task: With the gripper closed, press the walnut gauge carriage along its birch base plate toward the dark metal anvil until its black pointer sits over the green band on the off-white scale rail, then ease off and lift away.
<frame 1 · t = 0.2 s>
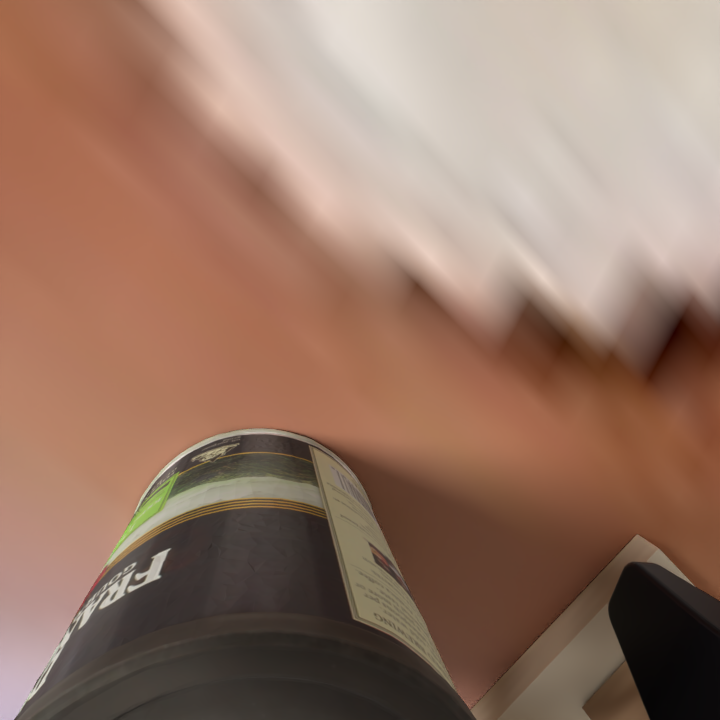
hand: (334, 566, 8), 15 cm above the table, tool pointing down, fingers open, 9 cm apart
coffee can: (257, 544, 24), on the table
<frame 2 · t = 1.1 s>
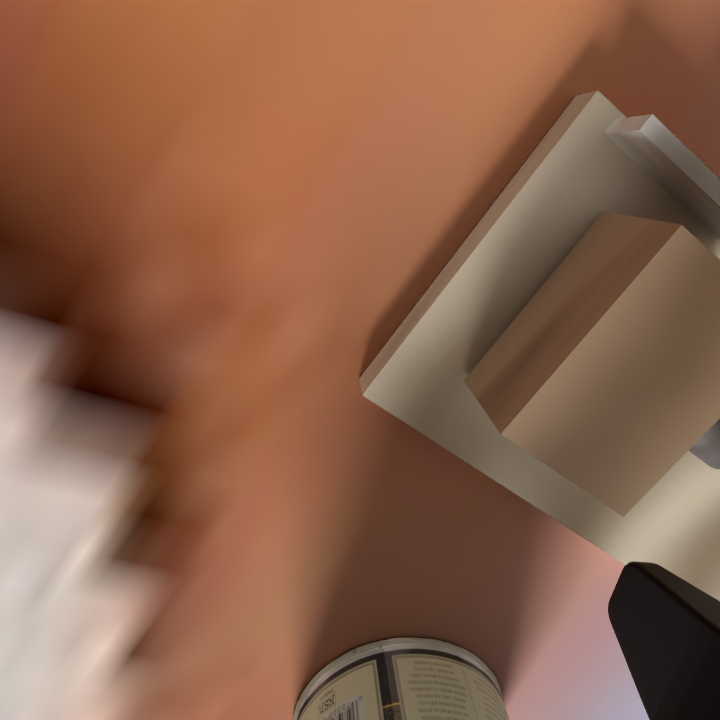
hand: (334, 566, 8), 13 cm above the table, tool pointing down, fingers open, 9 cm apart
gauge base: (667, 408, 22), on the table
gauge carriage: (681, 346, 17), point 4 cm above the table, slide at 0.0 cm
coffee can: (399, 712, 27), on the table
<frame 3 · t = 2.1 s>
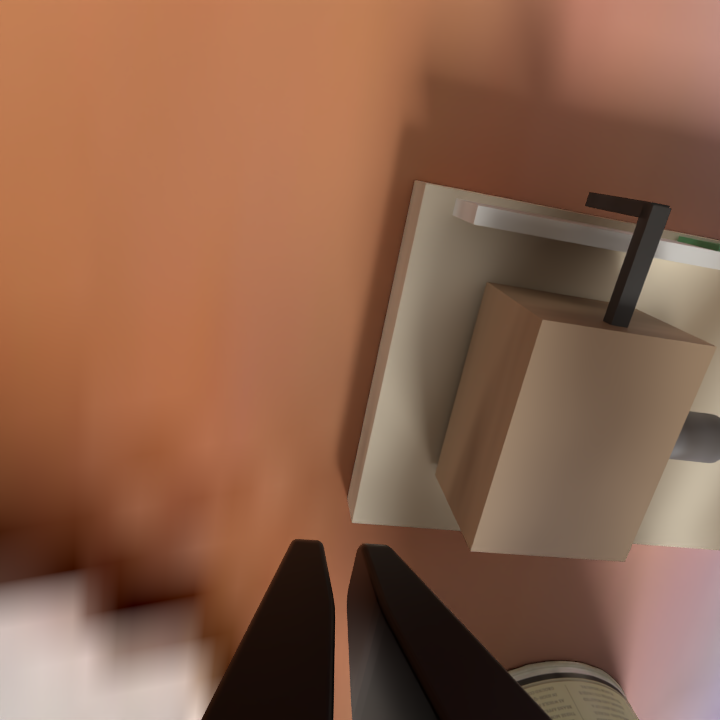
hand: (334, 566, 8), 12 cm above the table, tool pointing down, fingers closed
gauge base: (650, 391, 22), on the table
gauge carriage: (615, 379, 17), point 4 cm above the table, slide at 0.0 cm
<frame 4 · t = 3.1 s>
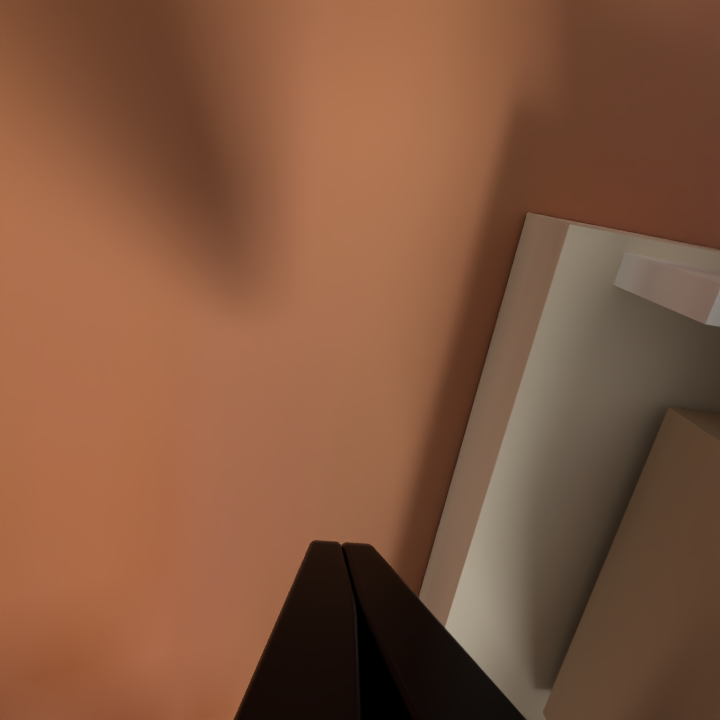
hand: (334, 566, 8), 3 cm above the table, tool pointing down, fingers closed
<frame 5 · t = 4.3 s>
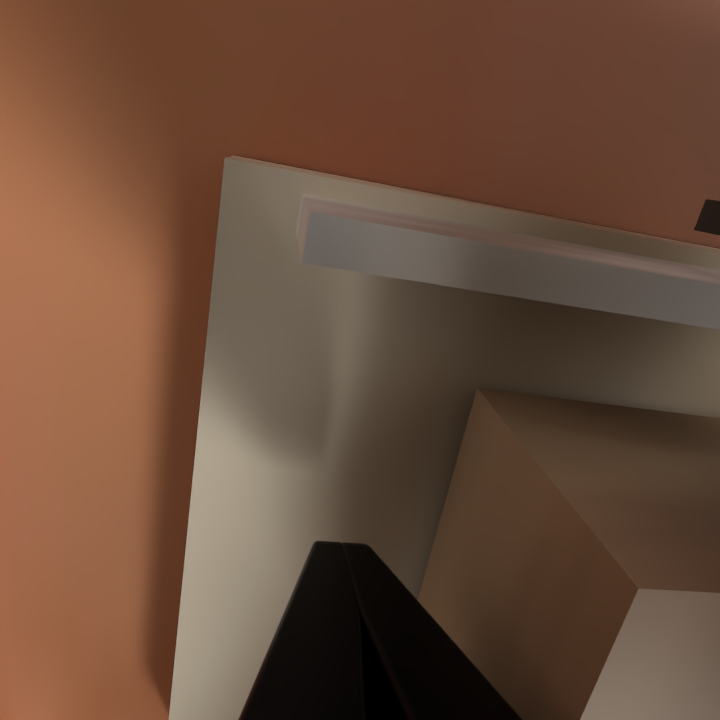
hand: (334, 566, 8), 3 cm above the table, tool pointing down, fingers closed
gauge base: (707, 535, 12), on the table
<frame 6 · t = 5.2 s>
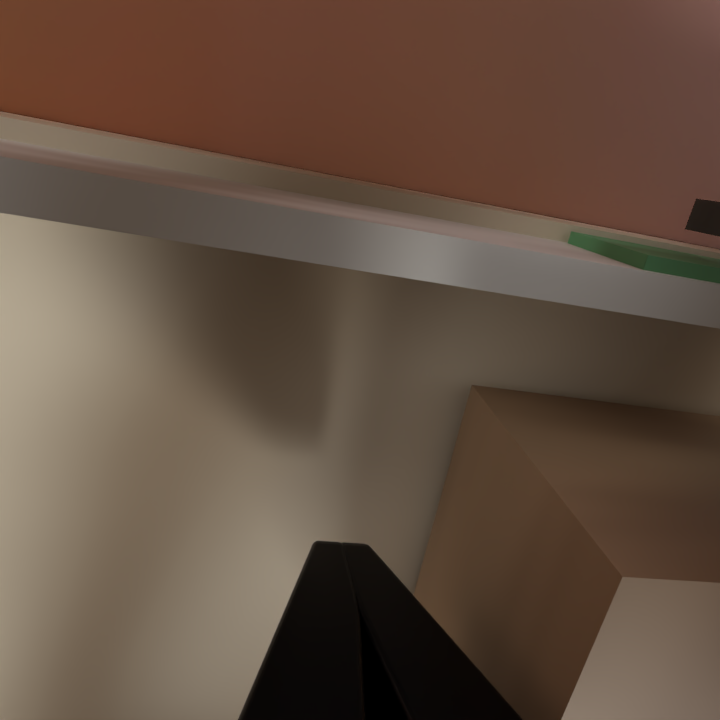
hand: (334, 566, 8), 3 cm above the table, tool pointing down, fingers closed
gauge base: (554, 520, 12), on the table
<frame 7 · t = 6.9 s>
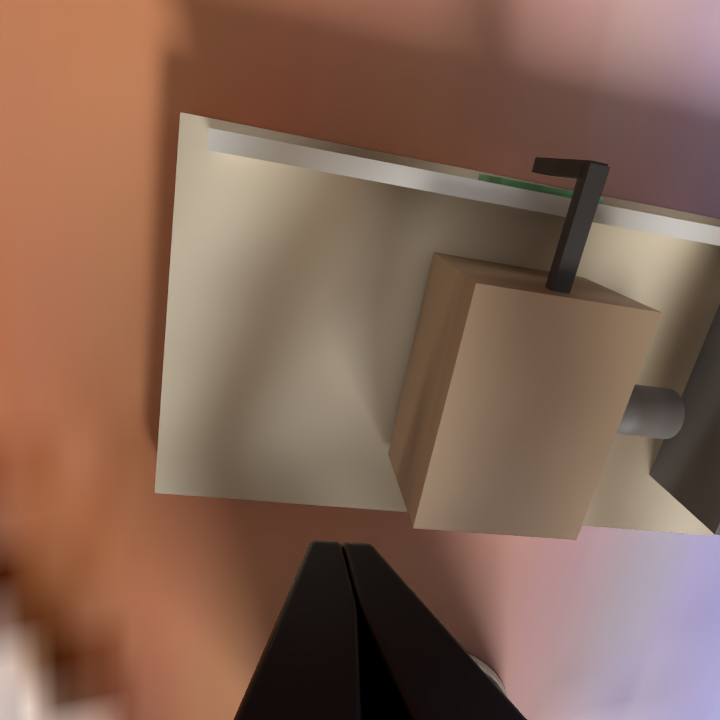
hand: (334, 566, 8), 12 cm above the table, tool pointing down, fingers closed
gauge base: (488, 353, 20), on the table
gauge carriage: (565, 351, 16), point 4 cm above the table, slide at 5.1 cm
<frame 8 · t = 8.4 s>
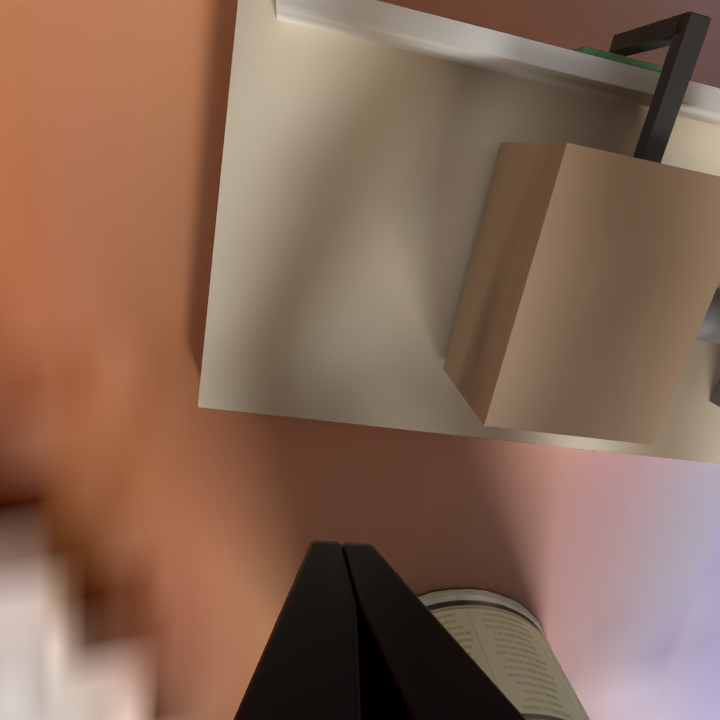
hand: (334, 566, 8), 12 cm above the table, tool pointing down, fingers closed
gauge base: (545, 268, 19), on the table
gauge carriage: (642, 244, 15), point 4 cm above the table, slide at 5.1 cm
coffee can: (442, 668, 26), on the table
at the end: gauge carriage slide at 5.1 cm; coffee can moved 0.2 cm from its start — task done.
